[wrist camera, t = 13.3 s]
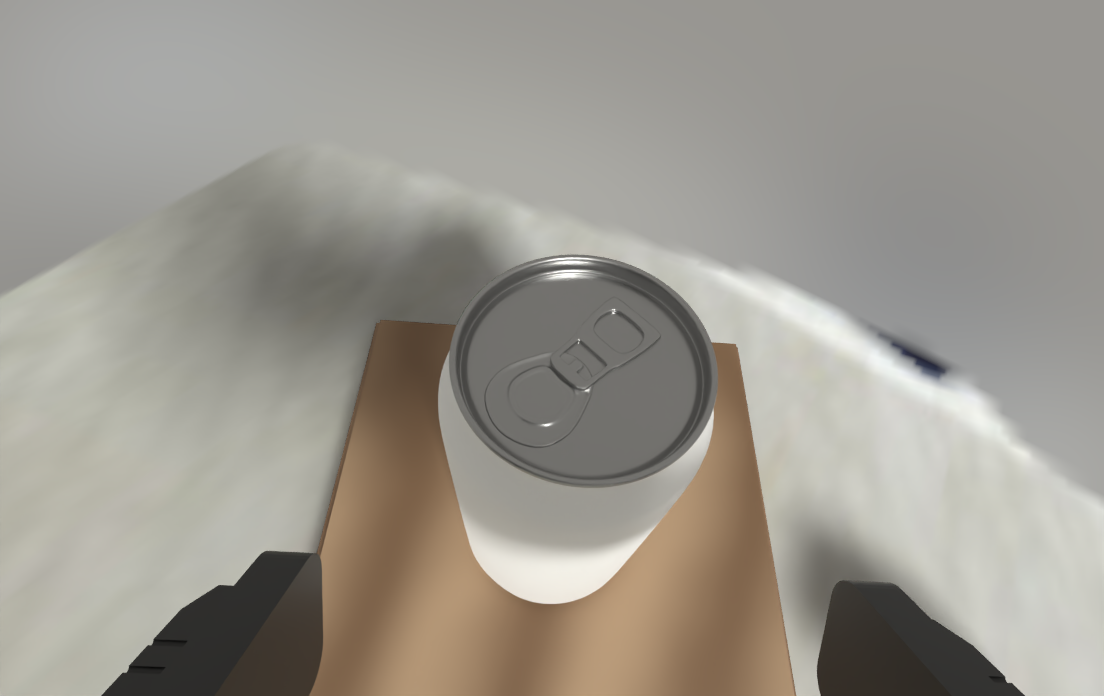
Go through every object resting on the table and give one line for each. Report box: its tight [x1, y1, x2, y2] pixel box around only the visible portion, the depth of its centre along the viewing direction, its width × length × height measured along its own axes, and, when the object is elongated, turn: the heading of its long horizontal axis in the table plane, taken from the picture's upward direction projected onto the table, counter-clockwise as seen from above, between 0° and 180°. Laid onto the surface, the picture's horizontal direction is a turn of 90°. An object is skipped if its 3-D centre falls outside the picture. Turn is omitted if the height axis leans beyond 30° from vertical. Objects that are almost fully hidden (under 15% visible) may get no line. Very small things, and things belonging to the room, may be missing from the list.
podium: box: [309, 320, 796, 696], centre depth 24 cm, size 18×18×6 cm
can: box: [438, 255, 718, 604], centre depth 17 cm, size 6×6×12 cm
